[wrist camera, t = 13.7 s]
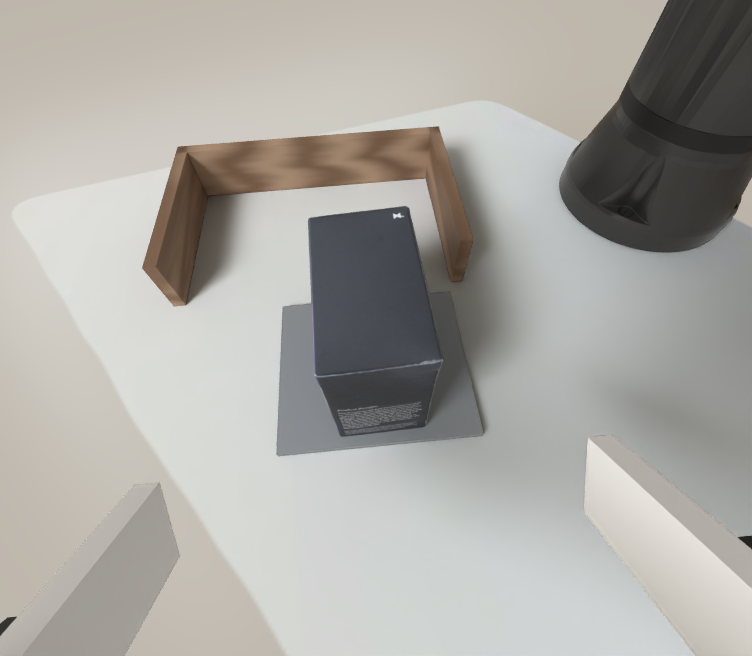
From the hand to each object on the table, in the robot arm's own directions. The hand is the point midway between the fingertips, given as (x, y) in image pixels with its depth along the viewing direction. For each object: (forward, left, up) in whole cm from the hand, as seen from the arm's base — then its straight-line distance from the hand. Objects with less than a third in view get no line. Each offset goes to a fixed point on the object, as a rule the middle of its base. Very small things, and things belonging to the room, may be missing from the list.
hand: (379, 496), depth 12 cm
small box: (0, -11, -13) cm, 17 cm away
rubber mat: (0, -11, -14) cm, 18 cm away
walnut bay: (+4, -25, -14) cm, 29 cm away
